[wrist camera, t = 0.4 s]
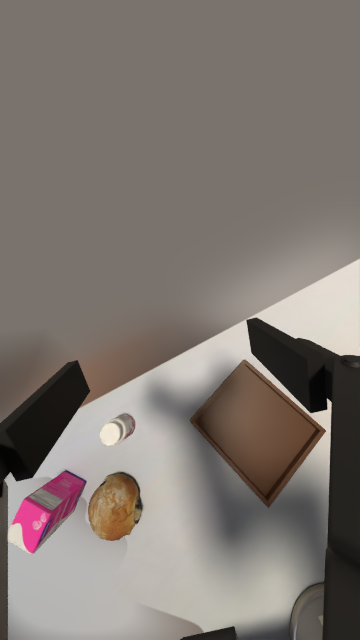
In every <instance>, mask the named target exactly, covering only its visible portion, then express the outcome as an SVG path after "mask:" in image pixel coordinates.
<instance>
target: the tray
mask: <svg viewBox="0 0 360 640" xmlns="http://www.w3.org/2000/svg"><path fill="white" fill-rule="evenodd" d="M190 422H191V423H192V424H193V425H194V426H195V427H196V429H197V430H198V431H199V432H200V433H201V434H202V435H203V436H204V437H205V438H206V440H207V441H208V442H209V443H210V444H211V445H212V446H213V447H214V448H215V450H216V451H217V452H218V453H219V454H220V455H221V456H222V457H223V458H224V459H225V461H226V462H227V463H228V464H229V465H230V466H231V467H232V468H233V469H234V471H235V472H236V473H237V474H238V475H239V476H240V477H241V478H242V479H243V480H244V482H245V483H246V484H247V485H248V486H249V487H250V488H251V489H252V490H253V492H254V493H255V494H256V495H257V496H258V497H259V498H260V499H261V500H262V501H263V503H264V504H265V505H266V506H267V507H268V508H269V507H270V505H271V504H272V503H273V501H274V500H275V499H276V497H277V496H278V495H279V493H280V492H281V491H282V489H283V488H284V487H285V485H286V484H287V483H288V481H289V480H290V479H291V477H292V476H293V475H294V473H295V472H296V471H297V469H298V468H299V467H300V465H301V464H302V463H303V461H304V460H305V459H306V457H307V456H308V454H309V453H310V452H311V450H312V449H313V448H314V446H315V445H316V444H317V442H318V441H319V440H320V438H321V437H322V436H323V434H324V433H325V432H326V430H325V429H323V428H322V427H321V426H320V425H319V424H318V423H317V422H316V421H314V420H313V419H312V418H311V417H310V416H309V415H308V414H307V413H305V412H304V411H303V410H302V409H301V408H300V407H299V406H297V405H296V404H295V403H294V402H293V401H292V400H291V399H290V398H288V397H287V396H286V395H285V394H284V393H283V392H282V391H280V390H279V389H278V388H277V387H276V386H275V385H274V384H272V383H271V382H270V381H269V380H268V379H267V378H266V377H265V376H263V375H262V374H261V373H260V372H259V371H258V370H257V369H255V368H254V367H253V366H252V365H251V364H250V363H249V362H248V361H246V360H243V361H242V362H241V363H240V364H239V366H238V367H237V368H236V369H235V370H234V371H233V372H232V373H231V374H230V376H229V377H228V378H227V379H226V380H225V381H224V382H223V383H222V385H221V386H220V387H219V388H218V389H217V390H216V391H215V392H214V394H213V395H212V396H211V397H210V398H209V399H208V400H207V401H206V402H205V404H204V405H203V406H202V407H201V408H200V409H199V410H198V411H197V413H196V414H195V415H194V416H193V417H192V418H191V419H190Z"/></svg>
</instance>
